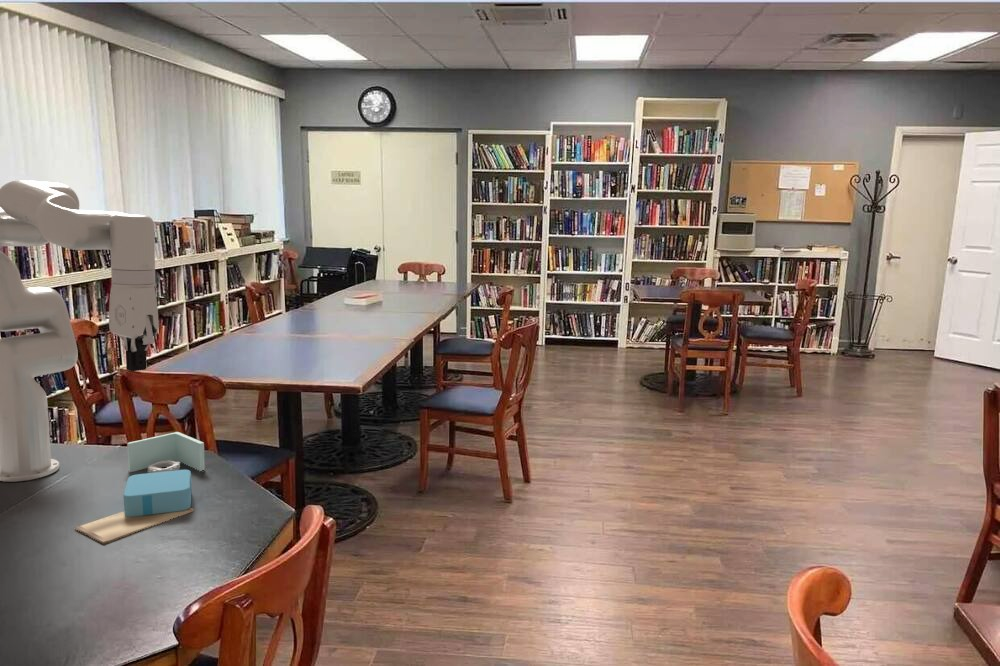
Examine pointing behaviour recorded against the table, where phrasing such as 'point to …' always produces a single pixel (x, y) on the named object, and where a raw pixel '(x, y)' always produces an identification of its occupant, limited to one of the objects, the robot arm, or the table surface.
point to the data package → (157, 493)
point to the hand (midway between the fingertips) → (136, 369)
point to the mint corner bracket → (165, 453)
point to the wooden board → (124, 525)
